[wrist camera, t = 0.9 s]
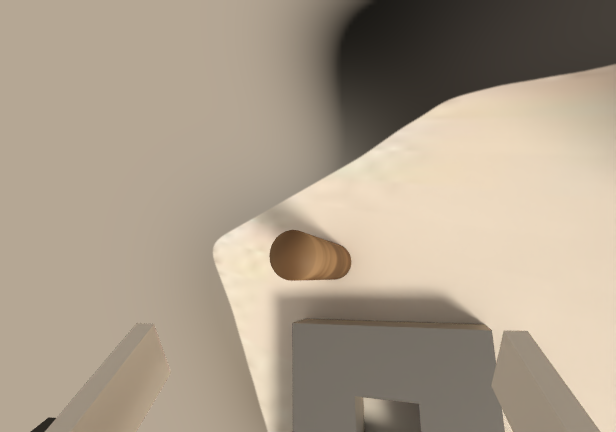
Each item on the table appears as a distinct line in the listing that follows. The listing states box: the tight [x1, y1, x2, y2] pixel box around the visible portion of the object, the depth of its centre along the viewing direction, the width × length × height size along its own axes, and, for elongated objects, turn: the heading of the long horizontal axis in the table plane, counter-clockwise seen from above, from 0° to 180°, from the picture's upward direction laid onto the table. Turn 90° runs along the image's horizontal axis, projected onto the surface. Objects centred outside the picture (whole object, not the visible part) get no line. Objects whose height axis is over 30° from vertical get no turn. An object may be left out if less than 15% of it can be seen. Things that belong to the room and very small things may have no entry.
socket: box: [292, 319, 505, 432], centre depth 32 cm, size 20×20×4 cm
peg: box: [270, 230, 351, 280], centre depth 33 cm, size 4×4×13 cm
